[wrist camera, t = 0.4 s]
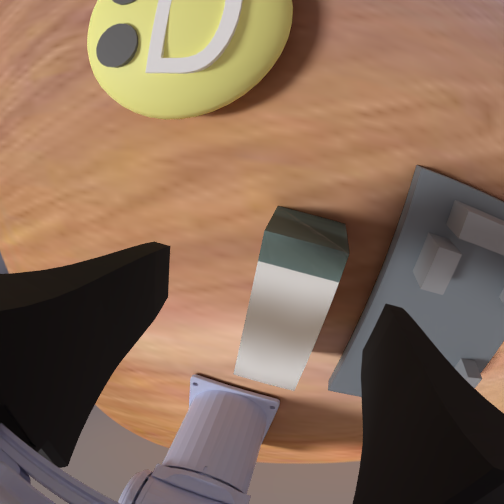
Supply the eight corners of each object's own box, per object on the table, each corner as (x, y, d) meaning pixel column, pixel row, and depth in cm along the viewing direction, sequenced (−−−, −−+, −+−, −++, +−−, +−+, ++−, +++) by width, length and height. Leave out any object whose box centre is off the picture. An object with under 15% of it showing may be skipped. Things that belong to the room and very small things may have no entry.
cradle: (449, 400, 21) (455, 426, 18) (328, 380, 22) (326, 410, 20) (551, 227, 13) (574, 244, 10) (416, 164, 15) (433, 175, 12)
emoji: (304, -79, 8) (93, -57, 8) (271, 135, 13) (60, 121, 14) (305, -48, 11) (124, -40, 12) (277, 129, 16) (98, 115, 17)
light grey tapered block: (301, 350, 22) (294, 390, 18) (248, 335, 22) (233, 374, 19) (345, 223, 17) (349, 253, 14) (277, 205, 18) (264, 230, 14)
